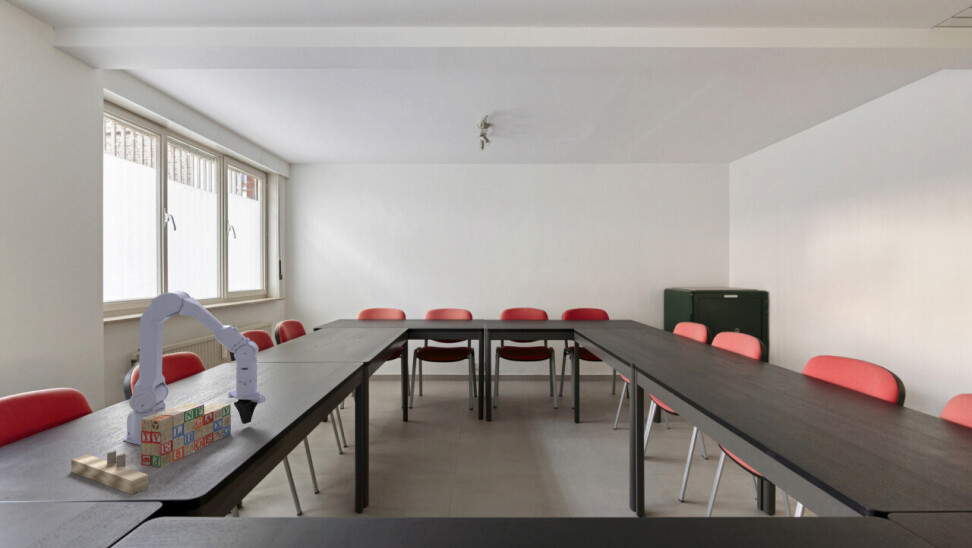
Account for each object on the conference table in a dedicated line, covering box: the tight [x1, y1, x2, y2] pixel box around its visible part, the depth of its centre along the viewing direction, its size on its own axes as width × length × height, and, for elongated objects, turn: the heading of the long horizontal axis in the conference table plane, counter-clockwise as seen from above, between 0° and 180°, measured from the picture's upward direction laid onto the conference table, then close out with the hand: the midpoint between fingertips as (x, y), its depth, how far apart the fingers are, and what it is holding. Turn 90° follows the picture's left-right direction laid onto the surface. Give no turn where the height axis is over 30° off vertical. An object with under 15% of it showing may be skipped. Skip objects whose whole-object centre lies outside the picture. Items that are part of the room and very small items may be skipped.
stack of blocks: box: [140, 402, 232, 468], centre depth 109 cm, size 21×6×12 cm, turn 169°
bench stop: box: [70, 450, 149, 495], centre depth 93 cm, size 26×4×6 cm, turn 68°
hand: (246, 422), depth 124 cm, fingers closed
